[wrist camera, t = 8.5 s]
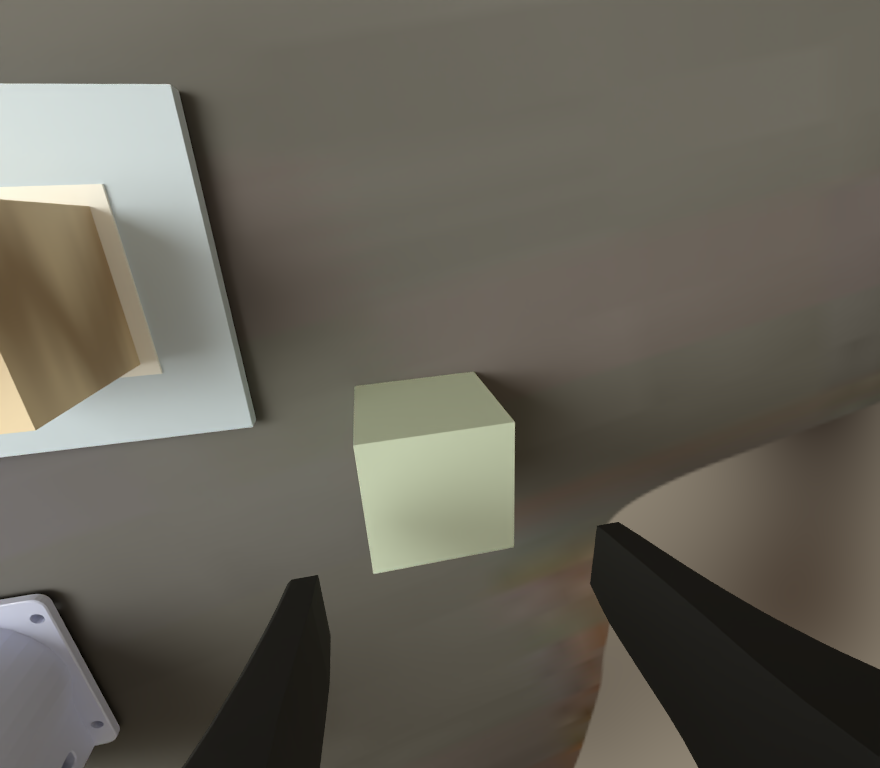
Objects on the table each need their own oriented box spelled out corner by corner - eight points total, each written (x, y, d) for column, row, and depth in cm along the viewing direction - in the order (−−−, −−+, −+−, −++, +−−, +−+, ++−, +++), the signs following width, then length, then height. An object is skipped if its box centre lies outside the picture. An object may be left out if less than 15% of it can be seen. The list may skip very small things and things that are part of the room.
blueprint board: (256, 420, 16) (252, 428, 16) (-69, 458, 15) (-89, 469, 14) (178, 90, 12) (168, 83, 12) (-284, 90, 11) (-325, 80, 10)
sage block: (476, 470, 19) (513, 546, 15) (369, 487, 18) (373, 574, 14) (473, 371, 17) (515, 421, 13) (354, 385, 17) (353, 445, 12)
